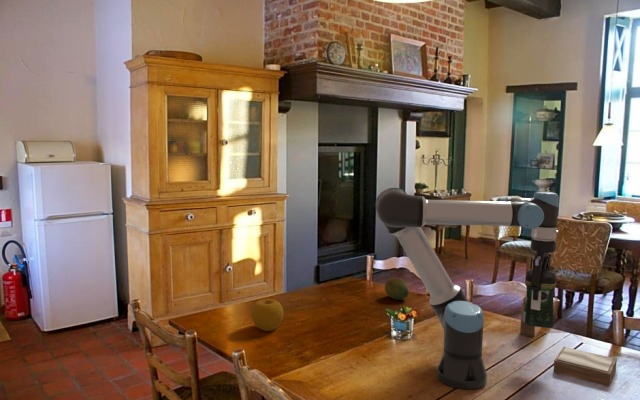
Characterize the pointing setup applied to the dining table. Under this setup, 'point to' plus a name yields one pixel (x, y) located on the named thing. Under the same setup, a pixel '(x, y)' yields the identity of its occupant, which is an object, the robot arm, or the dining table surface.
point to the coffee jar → (546, 311)
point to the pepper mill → (524, 328)
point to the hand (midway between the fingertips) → (539, 305)
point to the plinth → (585, 366)
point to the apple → (267, 314)
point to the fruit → (396, 288)
